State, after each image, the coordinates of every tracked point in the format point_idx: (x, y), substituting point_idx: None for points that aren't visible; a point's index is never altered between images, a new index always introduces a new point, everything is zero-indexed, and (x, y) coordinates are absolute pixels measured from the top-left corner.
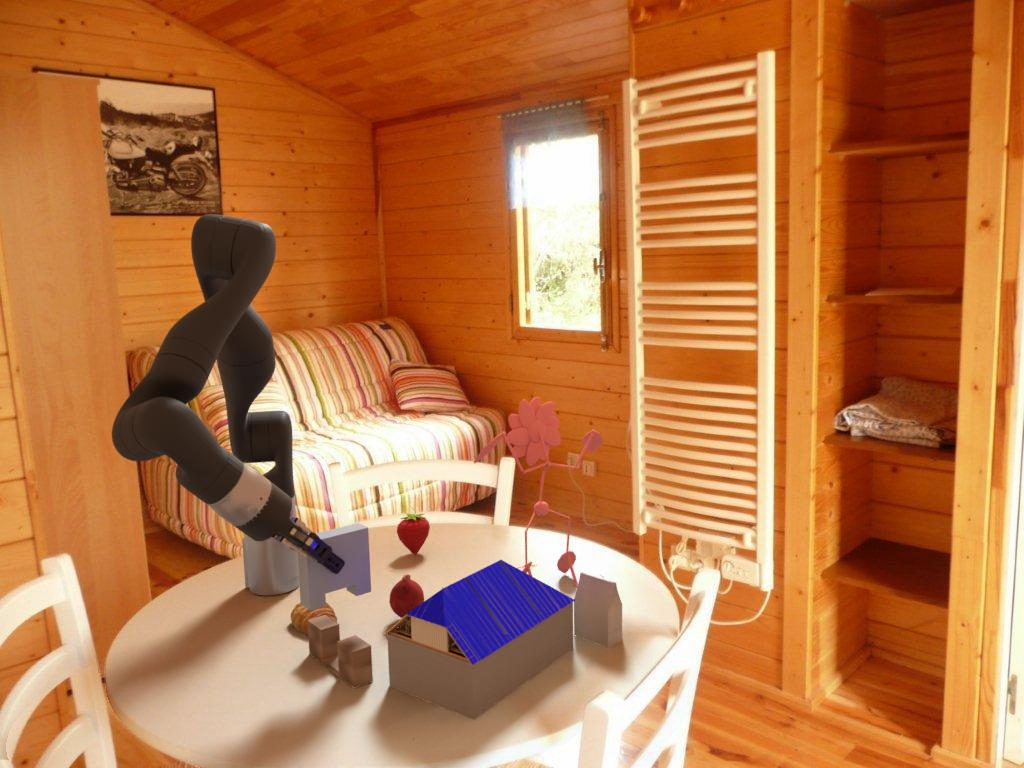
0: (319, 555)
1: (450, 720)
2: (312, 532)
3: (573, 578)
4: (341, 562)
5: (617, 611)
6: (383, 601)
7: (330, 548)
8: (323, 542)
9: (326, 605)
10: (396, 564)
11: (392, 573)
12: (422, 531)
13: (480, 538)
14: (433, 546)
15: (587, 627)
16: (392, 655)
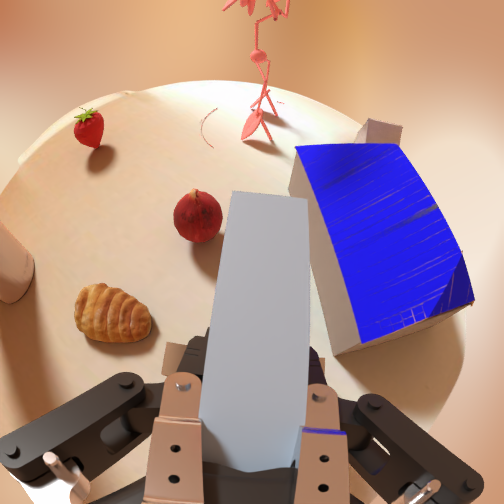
0: (363, 446)
1: (423, 343)
2: (345, 467)
3: (274, 111)
4: (316, 353)
5: None
6: (137, 223)
7: (392, 408)
8: (437, 444)
9: (109, 292)
10: (93, 167)
11: (101, 179)
12: (101, 124)
13: (134, 106)
14: (104, 132)
15: None
16: (357, 345)
